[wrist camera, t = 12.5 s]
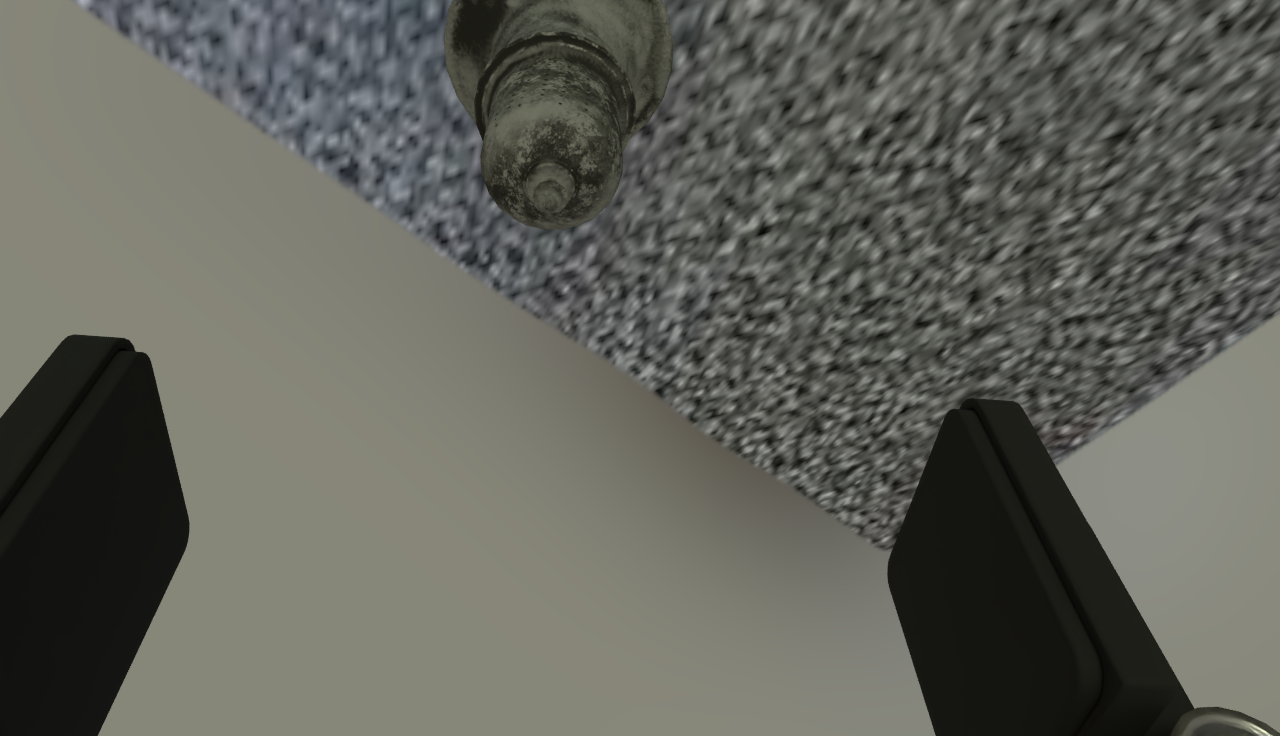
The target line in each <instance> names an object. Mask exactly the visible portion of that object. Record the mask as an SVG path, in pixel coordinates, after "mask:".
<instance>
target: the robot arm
mask: <svg viewBox="0 0 1280 736" xmlns="http://www.w3.org/2000/svg"><path fill="white" fill-rule="evenodd" d="M188 537H189V518H188V514H187V509H186V506H185V501H184V497H183V492H182V488H181V484H180V480H179V476H178V472H177V467H176V463H175V459H174V455H173V451H172V447H171V443H170V439H169V434H168V430H167V426H166V422H165V418H164V414H163V410H162V405H161V401H160V397H159V393H158V389H157V384H156V380H155V376H154V372H153V368H152V364H151V361H150V358H149V357H148V355H147V354H146V353H143V352H136V351H135V349H134V346H133V345H132V343H131V342H130V341H129V340H127V339H125V338H115V337H100V336H87V335H71V336H68V337H67V338H65V339H64V340H63V341H62V342H61V343H60V345H59V346H58V347H57V348H56V350H55V351H54V352H53V353H52V355H51V356H50V357H49V358H48V360H47V361H46V362H45V363H44V365H43V366H42V367H41V368H40V369H39V371H38V372H37V373H36V374H35V376H34V377H33V378H32V379H31V381H30V382H29V383H28V385H27V386H26V387H25V388H24V389H23V391H22V392H21V393H20V394H19V396H18V397H17V398H16V399H15V401H14V402H13V403H12V404H11V406H10V407H9V408H8V409H7V411H6V412H5V413H4V414H3V416H2V417H1V418H0V736H98V734H99V732H100V730H101V727H102V725H103V723H104V721H105V719H106V717H107V714H108V713H109V711H110V708H111V706H112V704H113V702H114V700H115V698H116V696H117V693H118V691H119V689H120V687H121V685H122V683H123V681H124V679H125V677H126V674H127V672H128V670H129V668H130V666H131V664H132V662H133V660H134V658H135V655H136V653H137V651H138V649H139V647H140V645H141V643H142V641H143V639H144V636H145V634H146V632H147V630H148V628H149V626H150V624H151V622H152V619H153V617H154V615H155V613H156V611H157V609H158V607H159V605H160V603H161V600H162V598H163V596H164V594H165V592H166V590H167V588H168V585H169V583H170V581H171V579H172V577H173V575H174V573H175V571H176V568H177V567H178V564H179V562H180V560H181V558H182V556H183V554H184V552H185V549H186V546H187V542H188ZM888 584H889V588H890V591H891V594H892V598H893V601H894V604H895V607H896V610H897V614H898V617H899V620H900V623H901V626H902V630H903V633H904V636H905V639H906V642H907V646H908V649H909V652H910V655H911V658H912V661H913V665H914V668H915V671H916V674H917V677H918V681H919V684H920V687H921V690H922V693H923V697H924V700H925V703H926V706H927V709H928V712H929V715H930V718H931V722H932V725H933V728H934V732H935V735H936V736H1280V733H1279V732H1277V731H1276V730H1274V729H1273V728H1271V727H1270V726H1268V725H1267V724H1265V723H1263V722H1261V721H1259V720H1257V719H1255V718H1252V717H1250V716H1248V715H1245V714H1244V713H1241V712H1238V711H1233V710H1229V709H1224V708H1220V707H1203V708H1196V709H1194V707H1193V705H1192V704H1191V702H1190V700H1189V698H1188V696H1187V695H1186V693H1185V691H1184V689H1183V688H1182V686H1181V684H1180V682H1179V681H1178V679H1177V677H1176V675H1175V674H1174V672H1173V670H1172V669H1171V667H1170V665H1169V664H1168V661H1167V660H1166V658H1165V656H1164V654H1163V653H1162V651H1161V649H1160V648H1159V646H1158V644H1157V642H1156V640H1155V639H1154V637H1153V635H1152V633H1151V632H1150V630H1149V628H1148V627H1147V625H1146V623H1145V621H1144V619H1143V618H1142V616H1141V614H1140V612H1139V611H1138V609H1137V607H1136V605H1135V604H1134V602H1133V600H1132V598H1131V597H1130V595H1129V594H1128V591H1127V590H1126V588H1125V586H1124V584H1123V583H1122V581H1121V579H1120V577H1119V576H1118V574H1117V572H1116V570H1115V569H1114V567H1113V565H1112V564H1111V562H1110V560H1109V558H1108V556H1107V555H1106V553H1105V551H1104V549H1103V548H1102V546H1101V544H1100V542H1099V541H1098V539H1097V537H1096V535H1095V534H1094V532H1093V530H1092V528H1091V527H1090V525H1089V524H1088V522H1087V521H1086V519H1085V517H1084V515H1083V514H1082V512H1081V511H1080V508H1079V507H1078V505H1077V503H1076V501H1075V500H1074V498H1073V496H1072V494H1071V493H1070V491H1069V489H1068V487H1067V486H1066V484H1065V482H1064V480H1063V479H1062V477H1061V475H1060V473H1059V471H1058V470H1057V468H1056V466H1055V464H1054V463H1053V461H1052V459H1051V457H1050V456H1049V454H1048V452H1047V450H1046V449H1045V447H1044V445H1043V443H1042V442H1041V440H1040V438H1039V436H1038V435H1037V433H1036V431H1035V429H1034V428H1033V426H1032V424H1031V422H1030V421H1029V419H1028V417H1027V415H1026V414H1025V412H1024V410H1023V409H1022V407H1021V406H1020V405H1019V404H1018V403H1016V402H1014V401H1002V400H988V399H974V398H971V399H967V400H966V401H965V402H964V403H963V404H962V405H961V407H960V409H952V410H950V411H949V412H948V413H947V414H946V416H945V418H944V421H943V423H942V426H941V428H940V431H939V433H938V436H937V438H936V441H935V443H934V446H933V449H932V451H931V454H930V456H929V459H928V461H927V464H926V466H925V469H924V471H923V474H922V476H921V479H920V481H919V484H918V486H917V489H916V492H915V494H914V497H913V499H912V502H911V504H910V507H909V509H908V512H907V514H906V517H905V519H904V522H903V524H902V527H901V529H900V532H899V534H898V537H897V540H896V542H895V545H894V547H893V550H892V552H891V555H890V558H889V562H888Z"/></svg>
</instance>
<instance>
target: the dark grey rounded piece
mask: <svg viewBox="0 0 1280 736" xmlns="http://www.w3.org/2000/svg"><path fill="white" fill-rule="evenodd" d="M444 46H445V56H446V66H447V71H448V74H449V76H450V79H451V82H452V84H453V87H454V90H455V92H456V95H457V97H458V99H459V100H460V102H461V103H462V105H463V106H464V107H465V109H466V110H467V112H468V113H469V115H470V116H471V118H472V119H473V120H474V122H476V124H477V127H478V130H479V132H480V135H481V138H482V140H483V146H482V151H481V155H480V158H481V170H482V175H483V179H484V181H485V184H486V187H487V189H488V192H489V194H490V196H491V197H492V198H493V200H494V201H495V202H496V204H497V205H498V207H499V208H500V209H502V210H503V211H504V212H505V213H507V214H508V215H509V216H510V217H511V218H513V219H515V220H517V221H519V222H521V223H523V224H525V225H527V226H531V227H536V228H540V229H566V228H570V227H574V226H578V225H581V224H583V223H585V222H587V221H588V220H590V219H592V218H594V217H595V216H596V215H598V214H599V213H600V212H601V211H602V210H603V209H604V208H605V207H606V206H607V205H608V203H609V202H610V200H611V199H612V197H613V196H614V194H615V192H616V190H617V188H618V185H619V182H620V178H621V175H622V162H623V154H622V152H623V150H624V149H625V147H626V146H627V144H628V143H629V141H630V138H631V137H632V136H633V135H635V134H636V133H637V132H638V131H639V130H640V129H641V128H642V127H643V126H644V125H645V124H646V123H647V122H648V121H649V120H650V118H651V117H652V115H653V113H654V112H655V110H656V109H657V107H658V105H659V104H660V102H661V101H662V99H663V97H664V94H665V91H666V88H667V84H668V81H669V78H670V75H671V72H672V55H673V38H672V34H671V29H670V25H669V20H668V16H667V11H666V9H665V7H664V5H663V3H662V1H661V0H453V1H452V3H451V5H450V7H449V11H448V17H447V23H446V29H445V35H444Z"/></svg>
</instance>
